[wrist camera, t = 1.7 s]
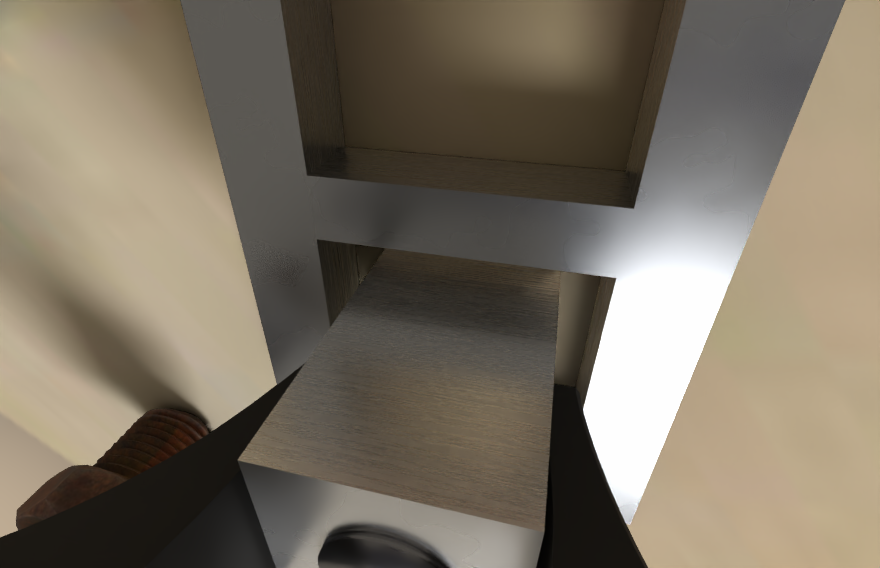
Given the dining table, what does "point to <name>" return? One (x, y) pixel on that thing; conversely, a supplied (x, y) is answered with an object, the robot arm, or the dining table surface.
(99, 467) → the bolt
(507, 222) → the frame with rectangular openings
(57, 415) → the dining table surface
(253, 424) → the robot arm
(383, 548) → the grey rectangular block
